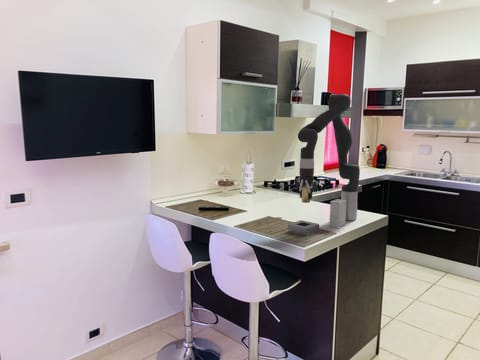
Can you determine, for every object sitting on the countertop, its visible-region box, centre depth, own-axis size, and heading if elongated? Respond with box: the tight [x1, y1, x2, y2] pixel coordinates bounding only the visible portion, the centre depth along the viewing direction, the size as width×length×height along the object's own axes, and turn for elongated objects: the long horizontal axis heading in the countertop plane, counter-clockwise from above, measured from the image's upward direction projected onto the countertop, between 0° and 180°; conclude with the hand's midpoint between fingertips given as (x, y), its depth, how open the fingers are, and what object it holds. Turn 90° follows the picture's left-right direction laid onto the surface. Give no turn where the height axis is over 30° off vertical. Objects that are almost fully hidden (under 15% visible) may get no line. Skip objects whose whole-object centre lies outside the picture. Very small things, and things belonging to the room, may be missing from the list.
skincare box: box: [329, 198, 347, 229], centre depth 217 cm, size 8×6×15 cm
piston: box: [301, 186, 311, 204], centre depth 205 cm, size 4×4×8 cm
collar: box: [287, 220, 320, 237], centre depth 208 cm, size 12×12×4 cm
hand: (305, 198), depth 205 cm, fingers closed on piston, 4 cm apart
